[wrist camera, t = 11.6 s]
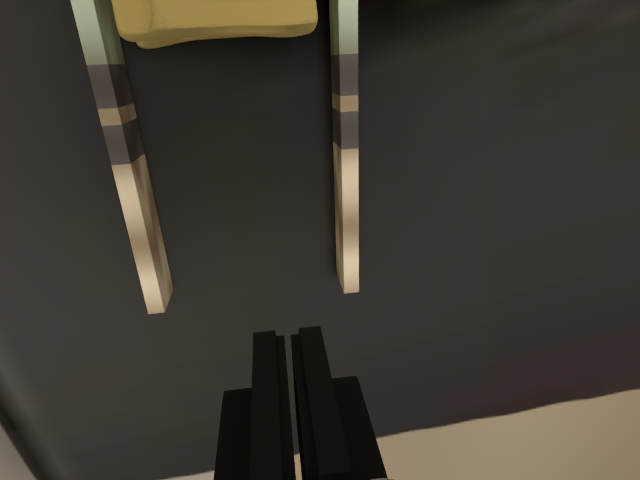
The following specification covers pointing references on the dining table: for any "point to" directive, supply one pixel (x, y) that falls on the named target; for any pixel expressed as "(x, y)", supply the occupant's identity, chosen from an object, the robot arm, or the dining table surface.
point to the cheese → (211, 19)
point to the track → (131, 163)
